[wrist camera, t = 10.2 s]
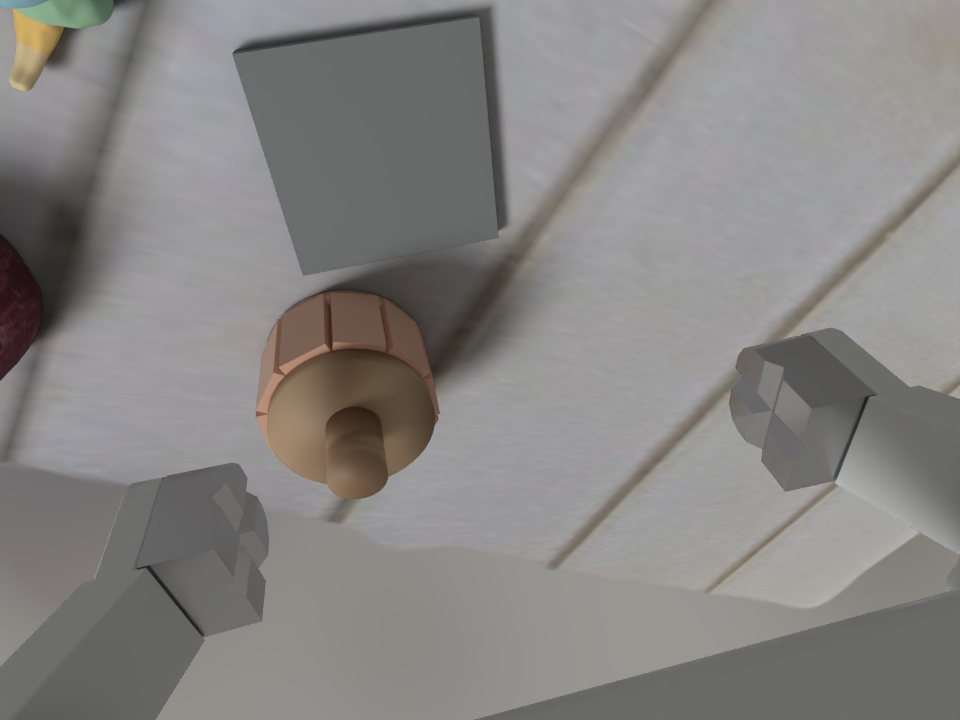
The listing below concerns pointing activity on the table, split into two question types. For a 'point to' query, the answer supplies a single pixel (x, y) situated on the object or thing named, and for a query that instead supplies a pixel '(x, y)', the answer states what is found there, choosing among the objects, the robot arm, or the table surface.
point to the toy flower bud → (47, 31)
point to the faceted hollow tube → (339, 338)
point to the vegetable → (16, 307)
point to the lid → (350, 419)
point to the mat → (376, 140)
